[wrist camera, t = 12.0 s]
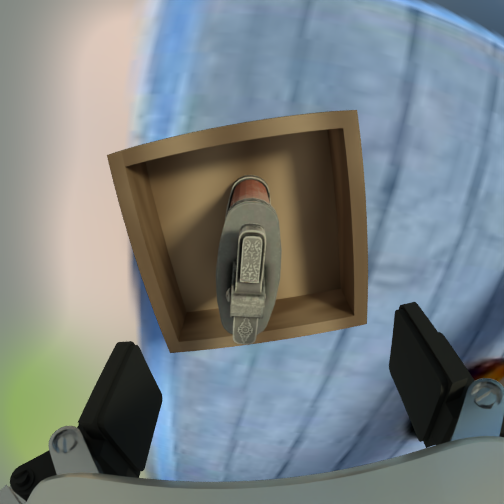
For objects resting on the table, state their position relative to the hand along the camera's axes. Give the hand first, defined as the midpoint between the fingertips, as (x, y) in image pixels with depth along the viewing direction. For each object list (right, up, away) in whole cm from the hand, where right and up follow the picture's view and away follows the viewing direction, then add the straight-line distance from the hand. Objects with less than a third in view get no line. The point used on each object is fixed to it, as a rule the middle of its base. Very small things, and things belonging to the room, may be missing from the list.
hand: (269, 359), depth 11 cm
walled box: (-1, +6, +14) cm, 15 cm away
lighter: (-1, +6, +13) cm, 14 cm away
